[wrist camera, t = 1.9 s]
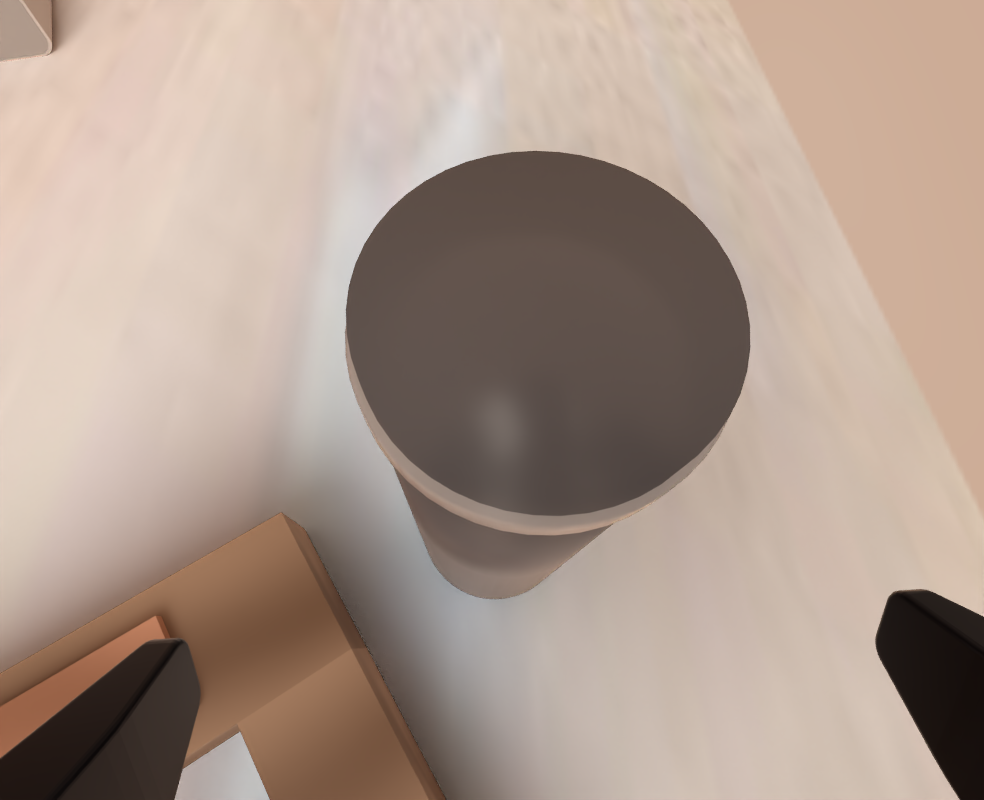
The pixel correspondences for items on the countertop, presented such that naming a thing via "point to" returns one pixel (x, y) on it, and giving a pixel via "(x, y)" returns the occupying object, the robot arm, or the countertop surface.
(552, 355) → the grey cylinder
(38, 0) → the usb wall charger
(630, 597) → the countertop surface
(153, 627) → the socket plate
